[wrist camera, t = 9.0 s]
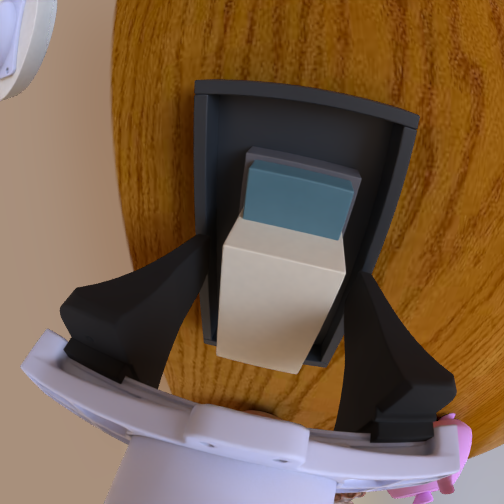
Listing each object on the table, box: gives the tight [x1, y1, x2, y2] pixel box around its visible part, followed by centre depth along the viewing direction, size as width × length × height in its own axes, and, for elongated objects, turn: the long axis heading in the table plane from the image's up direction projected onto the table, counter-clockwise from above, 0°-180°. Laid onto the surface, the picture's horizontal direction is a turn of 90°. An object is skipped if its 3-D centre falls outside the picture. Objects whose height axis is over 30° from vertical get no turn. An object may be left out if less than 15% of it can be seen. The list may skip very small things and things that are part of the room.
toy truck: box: [216, 146, 362, 374], centre depth 13 cm, size 10×5×4 cm, turn 173°
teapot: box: [387, 413, 472, 504], centre depth 21 cm, size 20×14×12 cm
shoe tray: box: [194, 79, 420, 367], centre depth 14 cm, size 16×9×2 cm, turn 176°
